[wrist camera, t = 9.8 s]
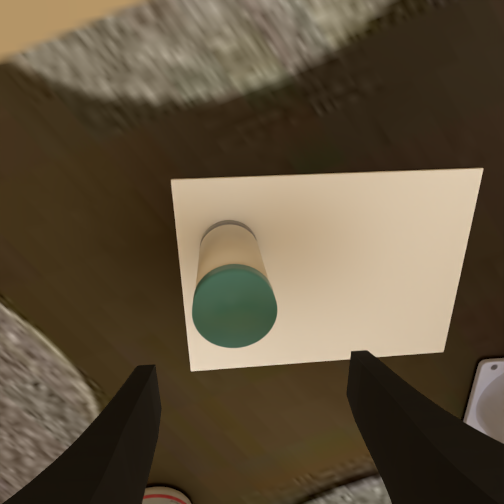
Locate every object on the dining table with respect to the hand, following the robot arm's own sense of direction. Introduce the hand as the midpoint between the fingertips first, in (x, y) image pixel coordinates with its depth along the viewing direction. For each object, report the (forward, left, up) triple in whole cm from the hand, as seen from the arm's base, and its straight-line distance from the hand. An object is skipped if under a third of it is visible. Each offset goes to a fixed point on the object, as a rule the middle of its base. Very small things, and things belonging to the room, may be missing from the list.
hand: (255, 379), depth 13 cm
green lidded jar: (+1, -2, -10) cm, 10 cm away
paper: (-5, +1, -10) cm, 11 cm away
